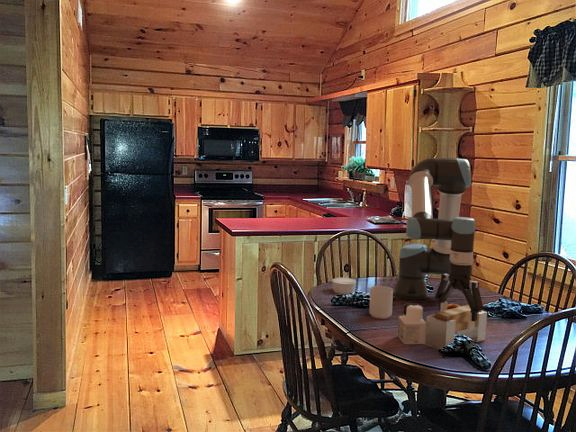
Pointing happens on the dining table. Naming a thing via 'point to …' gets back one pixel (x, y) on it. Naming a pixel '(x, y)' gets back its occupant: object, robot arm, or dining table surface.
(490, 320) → the dining table surface
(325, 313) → the dining table surface
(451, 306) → the croissant
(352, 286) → the ramekin
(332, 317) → the dining table surface
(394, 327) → the dining table surface
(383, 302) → the mug
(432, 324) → the brackets
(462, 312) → the rail
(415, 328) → the container
